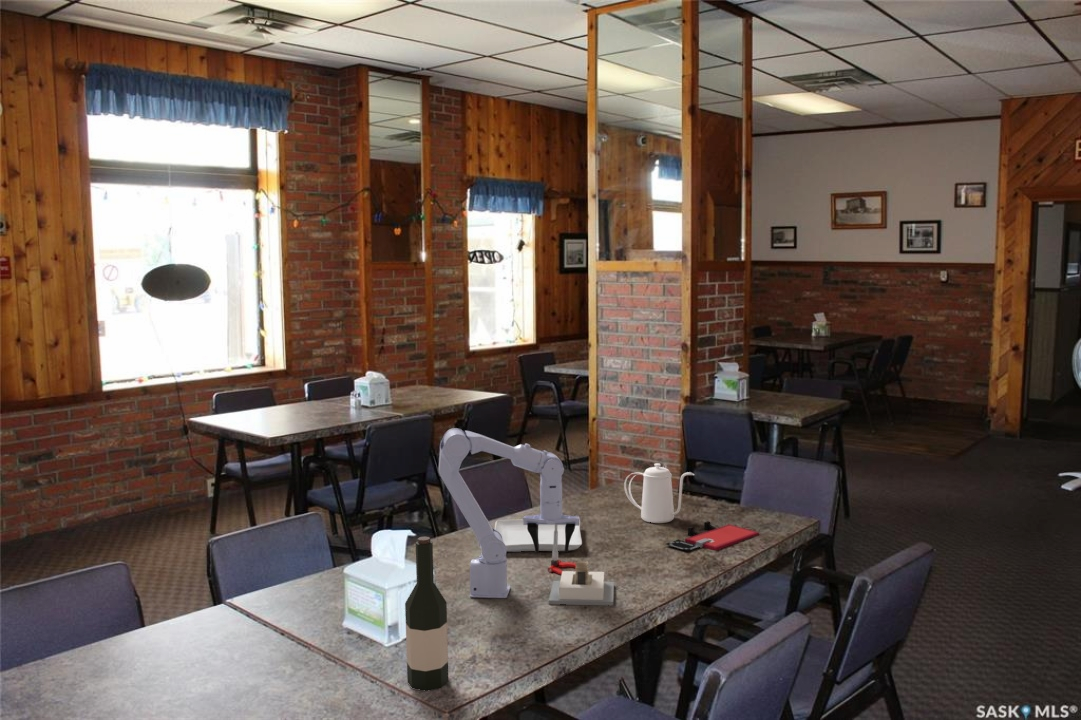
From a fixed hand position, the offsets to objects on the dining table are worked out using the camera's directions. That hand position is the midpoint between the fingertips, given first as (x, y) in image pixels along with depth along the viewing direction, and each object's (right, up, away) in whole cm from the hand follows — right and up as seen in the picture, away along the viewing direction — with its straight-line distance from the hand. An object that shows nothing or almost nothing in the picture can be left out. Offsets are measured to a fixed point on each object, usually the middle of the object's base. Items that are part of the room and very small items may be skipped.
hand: (551, 551), depth 232 cm
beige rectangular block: (+8, -9, -4) cm, 13 cm away
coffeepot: (+36, -3, +63) cm, 72 cm away
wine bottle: (-26, -16, -50) cm, 59 cm away
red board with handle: (+49, -6, +40) cm, 64 cm away
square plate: (-4, -6, +41) cm, 42 cm away
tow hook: (+4, -9, +15) cm, 18 cm away
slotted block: (+8, -10, -4) cm, 13 cm away
